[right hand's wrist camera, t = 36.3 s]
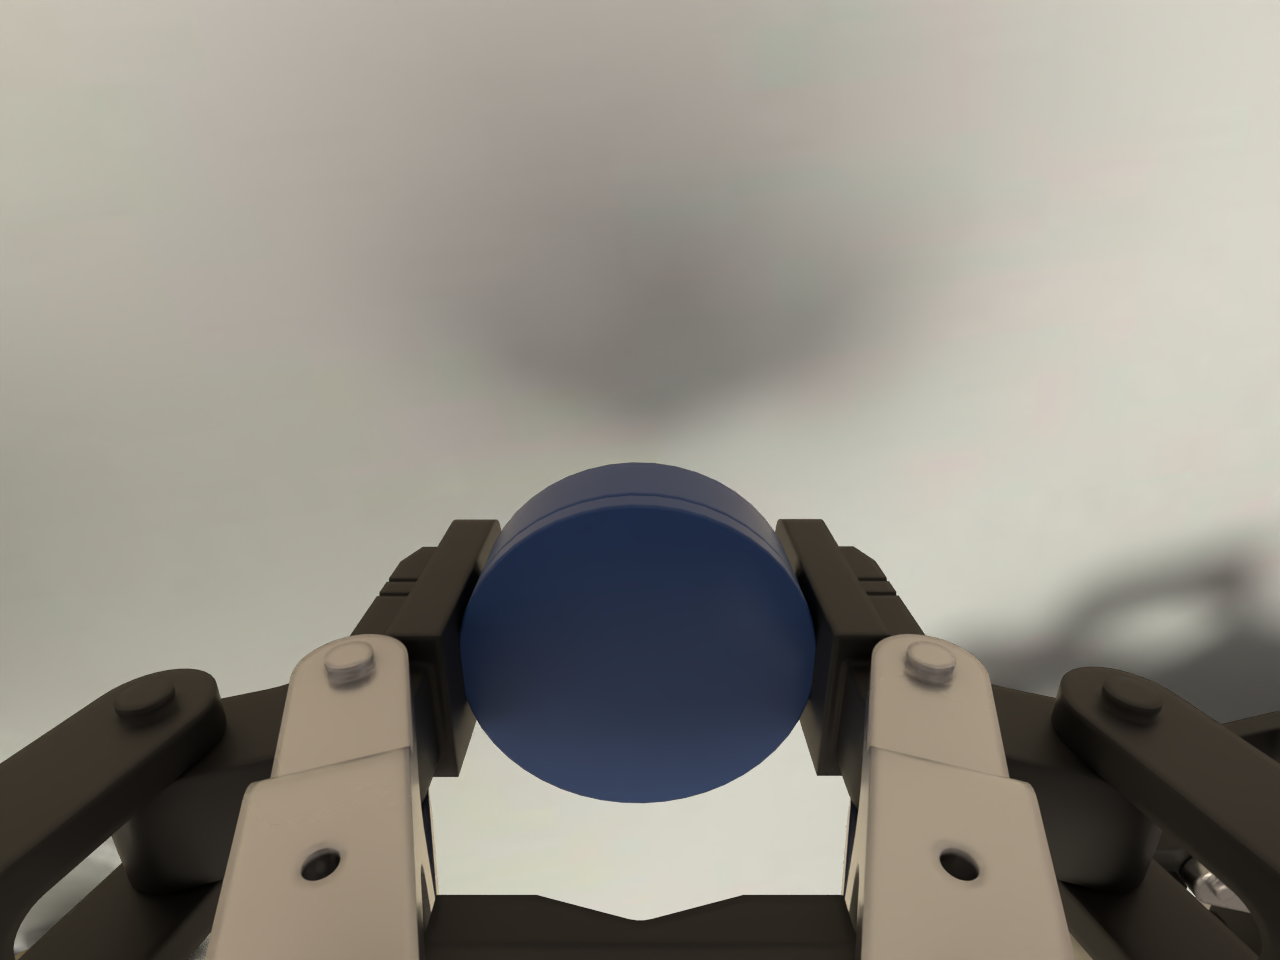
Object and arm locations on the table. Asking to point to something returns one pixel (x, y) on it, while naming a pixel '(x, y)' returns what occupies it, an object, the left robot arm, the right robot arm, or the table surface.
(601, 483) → the lid
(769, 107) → the table surface
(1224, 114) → the table surface
